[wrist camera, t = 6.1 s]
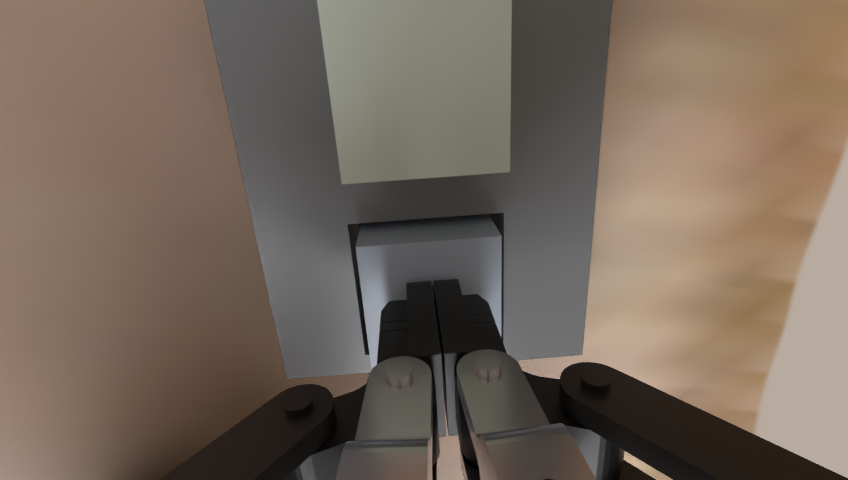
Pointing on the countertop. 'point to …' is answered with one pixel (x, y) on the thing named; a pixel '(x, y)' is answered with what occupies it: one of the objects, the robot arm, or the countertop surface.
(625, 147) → the countertop surface
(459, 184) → the keypad
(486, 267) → the slate key
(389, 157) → the sage key
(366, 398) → the robot arm
